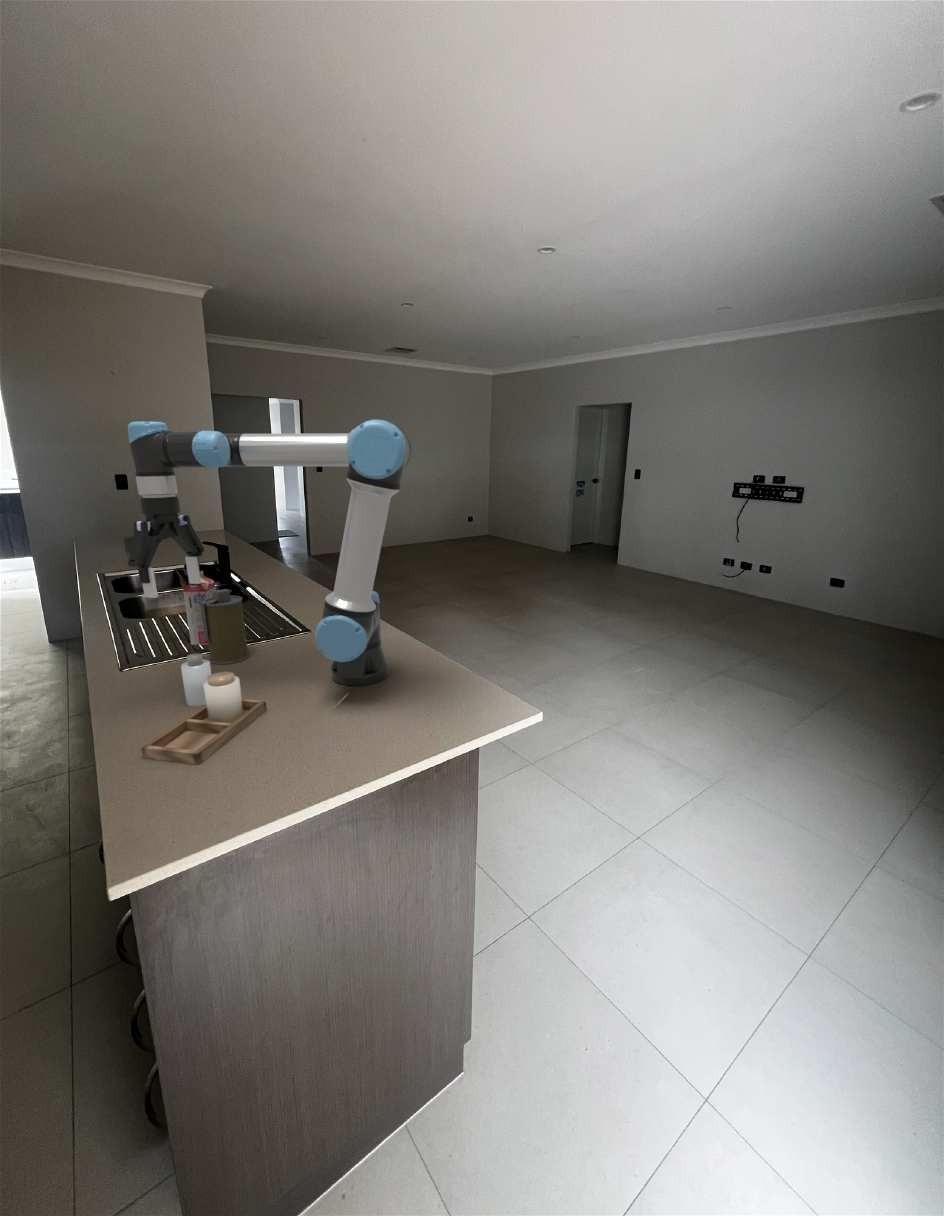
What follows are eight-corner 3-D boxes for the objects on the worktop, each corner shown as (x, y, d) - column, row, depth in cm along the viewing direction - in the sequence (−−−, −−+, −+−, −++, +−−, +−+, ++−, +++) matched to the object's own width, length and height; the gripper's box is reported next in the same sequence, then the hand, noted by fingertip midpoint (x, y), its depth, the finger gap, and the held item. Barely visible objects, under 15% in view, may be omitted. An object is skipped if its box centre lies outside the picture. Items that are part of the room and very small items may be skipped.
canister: (237, 649, 163) (229, 584, 158) (255, 657, 157) (248, 590, 151) (201, 659, 155) (191, 591, 149) (219, 667, 149) (209, 597, 143)
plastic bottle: (220, 699, 129) (214, 652, 126) (204, 710, 124) (197, 661, 120) (198, 697, 130) (191, 650, 127) (181, 708, 125) (173, 659, 122)
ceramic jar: (250, 713, 120) (245, 671, 117) (231, 728, 114) (225, 684, 111) (222, 711, 122) (216, 669, 119) (201, 725, 115) (195, 681, 112)
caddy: (267, 713, 122) (265, 701, 122) (199, 768, 101) (197, 754, 100) (219, 708, 125) (218, 696, 124) (143, 761, 103) (141, 747, 102)
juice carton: (221, 637, 173) (213, 570, 167) (212, 644, 167) (203, 575, 161) (200, 637, 173) (191, 570, 167) (191, 644, 167) (181, 575, 161)
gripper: (185, 492, 131) (198, 577, 137) (94, 500, 107) (115, 603, 113) (211, 492, 129) (224, 578, 135) (126, 500, 106) (145, 604, 112)
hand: (174, 590), depth 124 cm, fingers open, 13 cm apart
